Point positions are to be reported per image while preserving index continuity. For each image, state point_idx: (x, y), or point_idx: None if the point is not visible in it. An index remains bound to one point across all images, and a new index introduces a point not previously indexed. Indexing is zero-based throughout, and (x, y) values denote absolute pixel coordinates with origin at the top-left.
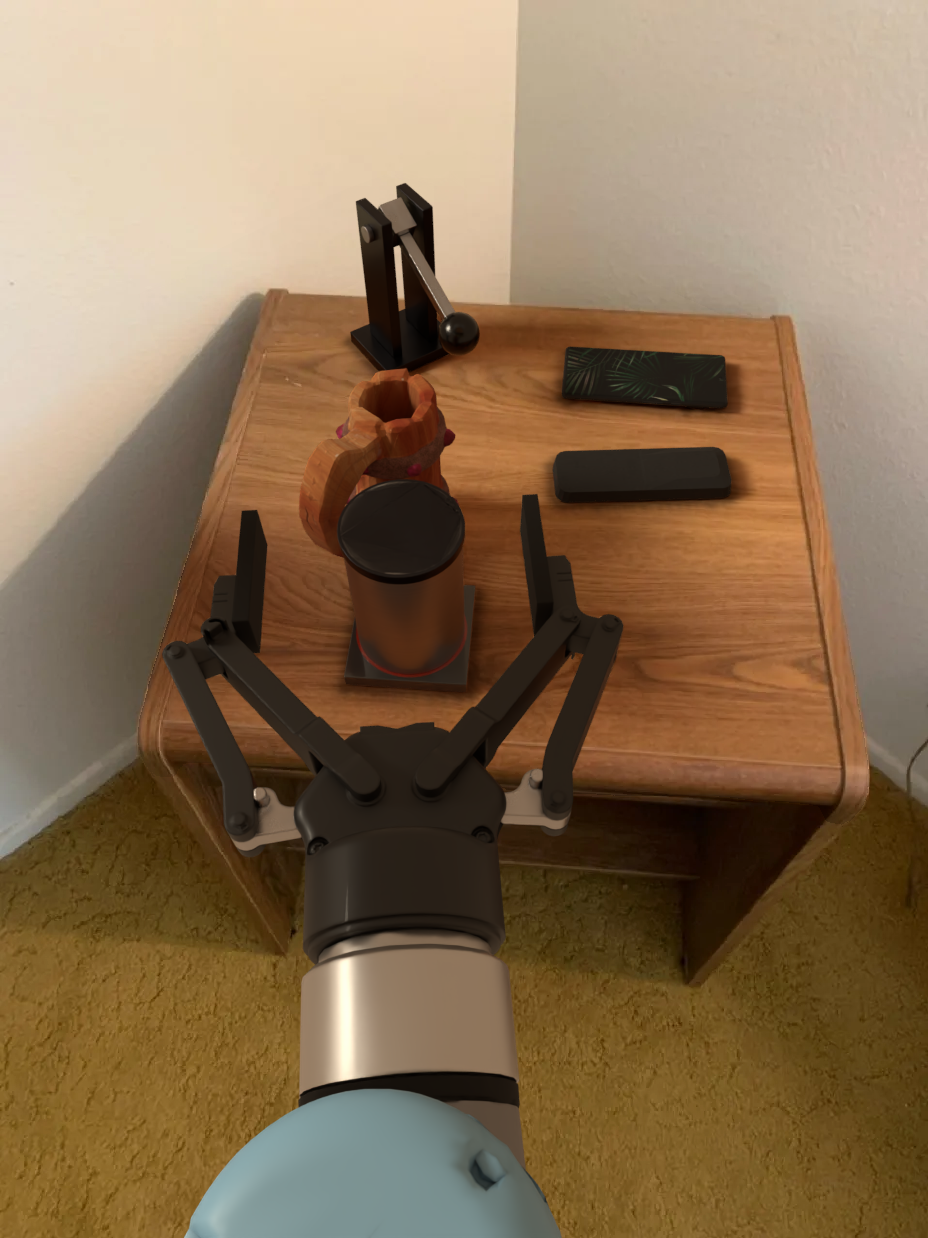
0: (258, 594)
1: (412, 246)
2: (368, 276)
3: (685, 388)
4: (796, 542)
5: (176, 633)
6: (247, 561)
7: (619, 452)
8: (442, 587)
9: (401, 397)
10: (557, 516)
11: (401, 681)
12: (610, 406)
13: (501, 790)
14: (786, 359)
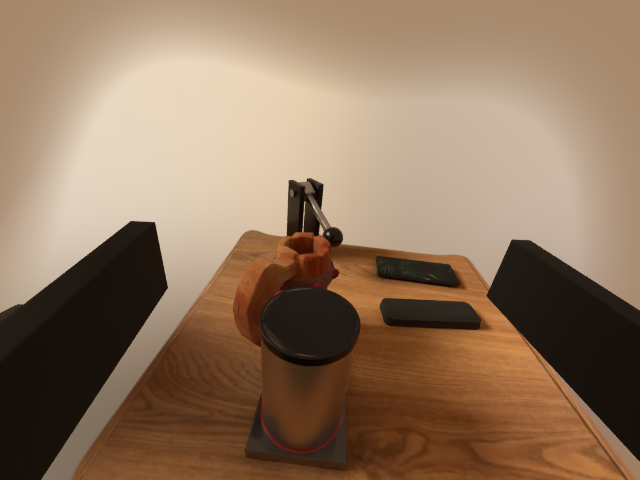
0: (90, 351)
1: (312, 200)
2: (289, 215)
3: (437, 275)
4: (531, 357)
5: (125, 400)
6: (82, 277)
7: (415, 301)
8: (341, 372)
9: (308, 249)
10: (387, 333)
11: (292, 457)
12: (402, 281)
13: None
14: (475, 269)
